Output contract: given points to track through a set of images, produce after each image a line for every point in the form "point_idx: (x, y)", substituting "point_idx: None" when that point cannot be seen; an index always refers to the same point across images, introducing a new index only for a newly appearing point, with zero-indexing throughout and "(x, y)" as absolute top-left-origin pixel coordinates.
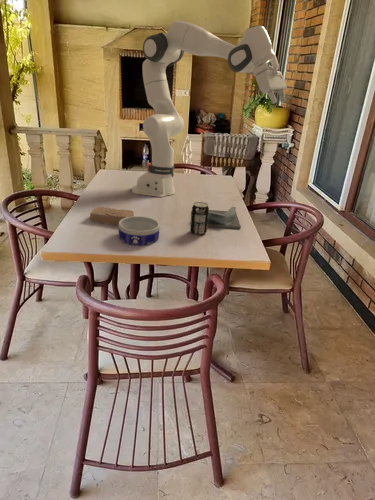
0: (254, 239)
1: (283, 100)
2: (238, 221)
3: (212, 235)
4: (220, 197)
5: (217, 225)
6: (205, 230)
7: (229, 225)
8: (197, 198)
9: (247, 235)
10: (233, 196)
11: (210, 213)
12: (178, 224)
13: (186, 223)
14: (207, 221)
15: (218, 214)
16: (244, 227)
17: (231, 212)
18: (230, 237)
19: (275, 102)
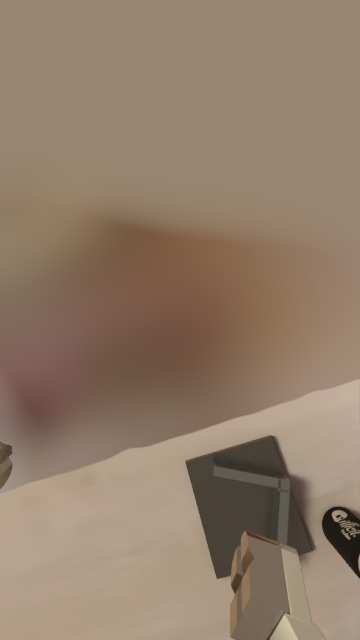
0: (308, 399)
1: (3, 457)
2: (245, 446)
3: (336, 488)
4: (77, 521)
5: (290, 489)
6: (347, 510)
7: (279, 462)
8: (111, 586)
9: (296, 416)
10: (56, 487)
11: (287, 522)
12: (319, 587)
13: (302, 568)
14: (350, 518)
15: (288, 500)
16: (256, 428)
17: (246, 471)
18: (325, 448)
19: (282, 549)
